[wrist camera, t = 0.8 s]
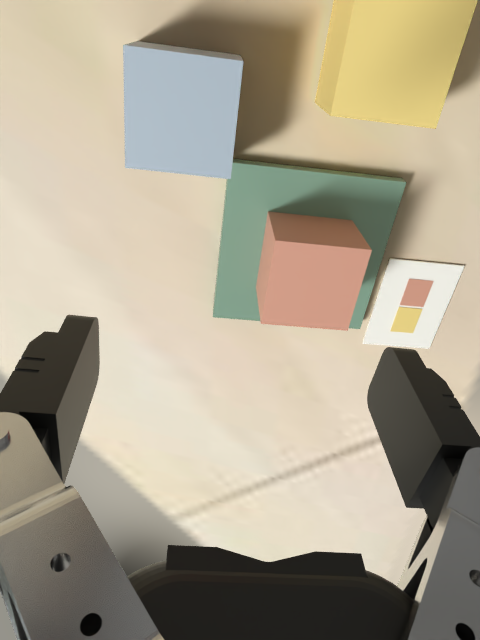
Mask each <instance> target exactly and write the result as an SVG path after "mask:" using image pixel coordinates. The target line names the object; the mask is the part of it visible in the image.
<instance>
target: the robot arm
mask: <svg viewBox="0 0 480 640" xmlns="http://www.w3.org/2000/svg"><path fill="white" fill-rule="evenodd" d="M98 375H99V325H98V319H97V318H96V317H86V316H76V315H67V316H66V318H65V320H64V322H63V324H62V326H61V328H60V330H59V332H58V333H55V332H43V333H42V334H41V335H39V336H38V337H37V338H35V339H34V340H33V341H31V342H30V343H29V344H28V346H27V348H26V350H25V351H24V353H23V355H22V358H21V359H20V360H19V362H18V364H17V365H16V367H15V371H13V372H12V374H11V376H10V378H9V379H8V381H7V383H6V385H5V386H4V388H3V390H2V392H1V393H0V592H1V595H2V598H3V600H4V603H5V606H6V609H7V611H8V615H9V618H10V620H11V624H12V627H13V630H14V633H15V636H16V638H17V640H480V437H479V435H478V433H477V432H476V430H475V429H474V427H473V425H472V424H471V422H470V420H469V419H468V417H467V415H466V414H465V412H464V411H463V410H461V406H460V404H459V403H458V401H457V399H456V398H454V394H453V393H452V391H451V390H450V388H449V386H448V385H447V383H446V382H445V381H444V380H443V379H442V378H441V377H440V376H439V375H438V374H437V373H435V372H434V371H433V370H432V369H429V368H426V366H425V365H424V363H423V361H422V360H421V358H420V356H419V354H418V353H417V351H415V350H412V349H402V348H392V347H388V348H386V349H385V350H384V352H383V354H382V356H381V359H380V361H379V364H378V366H377V369H376V371H375V374H374V376H373V379H372V381H371V384H370V386H369V389H368V396H367V401H368V408H369V411H370V413H371V416H372V419H373V421H374V424H375V427H376V429H377V432H378V435H379V437H380V440H381V442H382V445H383V448H384V450H385V453H386V456H387V458H388V461H389V463H390V466H391V469H392V471H393V474H394V477H395V479H396V482H397V484H398V487H399V490H400V492H401V495H402V498H403V500H404V503H405V505H406V507H407V508H424V509H425V512H426V514H427V516H426V518H425V520H424V521H423V523H422V525H421V528H420V530H419V533H418V536H417V538H416V541H415V543H414V546H413V548H412V551H411V553H410V556H409V559H408V561H407V564H406V566H405V569H404V572H403V574H402V576H401V579H400V581H399V583H398V585H397V586H396V585H394V584H393V583H391V582H389V581H388V580H386V579H384V578H382V577H381V576H378V575H376V574H374V573H372V572H369V571H366V570H365V567H364V563H363V559H362V556H361V554H357V553H335V552H312V553H307V554H303V555H299V556H295V557H291V558H286V559H282V560H278V561H274V562H264V561H260V560H257V559H254V558H251V557H247V556H244V555H241V554H237V553H234V552H231V551H228V550H224V549H221V548H218V547H199V546H175V545H168V550H167V559H166V561H163V562H158V563H154V564H152V565H149V566H146V567H144V568H142V569H140V570H138V571H136V572H134V573H132V574H130V575H129V576H126V574H125V572H124V571H123V569H122V567H121V566H120V564H119V562H118V560H117V559H116V557H115V555H114V553H113V552H112V550H111V548H110V547H109V545H108V543H107V542H106V540H105V538H104V536H103V535H102V533H101V531H100V530H99V528H98V526H97V524H96V522H95V521H94V519H93V517H92V516H91V514H90V512H89V511H88V509H87V507H86V505H85V503H84V502H83V500H82V499H81V497H80V495H79V493H78V492H77V490H76V489H75V488H74V487H73V486H68V487H66V486H65V485H64V483H65V480H66V476H67V474H68V471H69V467H70V464H71V461H72V458H73V455H74V452H75V449H76V446H77V443H78V440H79V437H80V434H81V431H82V428H83V425H84V422H85V419H86V416H87V413H88V409H89V406H90V403H91V400H92V397H93V394H94V391H95V388H96V385H97V381H98Z"/></svg>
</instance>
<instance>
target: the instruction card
mask: <svg viewBox="0 0 480 640" xmlns="http://www.w3.org/2000/svg"><path fill="white" fill-rule="evenodd" d="M463 269H464V265H456V264H446V263H435V262H425V261H415V260H404V259H394V258H390V259H389V262H388V265H387V268H386V271H385V274H384V277H383V280H382V283H381V286H380V289H379V292H378V295H377V298H376V301H375V304H374V308H373V311H372V314H371V317H370V320H369V323H368V326H367V329H366V332H365V335H364V338H363V341H362V343H363V344H375V345H388V346H401V347H414V348H427V349H429V348H430V346H431V343H432V341H433V339H434V336H435V334H436V332H437V329H438V327H439V325H440V322H441V320H442V318H443V315H444V313H445V311H446V308H447V306H448V304H449V301H450V299H451V297H452V294H453V292H454V290H455V287H456V285H457V283H458V280H459V278H460V276H461V273H462V271H463Z"/></svg>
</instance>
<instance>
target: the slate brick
mask: <svg viewBox="0 0 480 640" xmlns="http://www.w3.org/2000/svg"><path fill="white" fill-rule="evenodd" d="M123 56H124V118H125V168H133V169H142V170H151V171H161V172H170V173H179V174H188V175H197V176H207V177H216V178H225V179H231V172H232V163H233V153H234V144H235V135H236V125H237V116H238V107H239V98H240V88H241V79H242V70H243V60H242V58H241V56H240V55H237V54H229V53H222V52H215V51H207V50H200V49H193V48H185V47H178V46H170V45H163V44H156V43H148V42H141V41H136V42H133V43H129V44H125V45H123Z"/></svg>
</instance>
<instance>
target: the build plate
mask: <svg viewBox="0 0 480 640" xmlns="http://www.w3.org/2000/svg"><path fill="white" fill-rule="evenodd" d="M405 185H406V182H405V181H404V180H403V179H402V178H396V177H387V176H378V175H370V174H361V173H352V172H344V171H335V170H326V169H318V168H309V167H300V166H292V165H283V164H274V163H266V162H257V161H248V160H239V159H233V163H232V172H231V179H227V183H226V193H225V202H224V212H223V221H222V231H221V240H220V250H219V259H218V269H217V278H216V288H215V297H214V307H213V317H218V318H230V319H243V320H255V321H260V314H259V306H258V299H257V292H256V283H257V277H258V271H259V264H260V258H261V252H262V245H263V239H264V233H265V227H266V220H267V214H268V211H269V212H278V213H288V214H297V215H307V216H316V217H326V218H336V219H345V220H352V221H353V222H354V224H355V225H356V227H357V228H358V230H359V231H360V233H361V234H362V236H363V237H364V239H365V240H366V242H367V243H368V245H369V246H370V248H371V249H372V251H371V255H370V258H369V261H368V265H367V268H366V271H365V275H364V278H363V281H362V285H361V288H360V291H359V295H358V298H357V301H356V305H355V308H354V311H353V315H352V318H351V321H350V325H349V328H354V329H360V327H361V324H362V321H363V318H364V314H365V311H366V308H367V305H368V302H369V299H370V296H371V292H372V289H373V286H374V283H375V280H376V277H377V273H378V270H379V267H380V264H381V261H382V258H383V255H384V251H385V248H386V245H387V242H388V239H389V236H390V232H391V229H392V226H393V223H394V220H395V217H396V214H397V210H398V207H399V204H400V201H401V198H402V195H403V191H404V188H405Z"/></svg>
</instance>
